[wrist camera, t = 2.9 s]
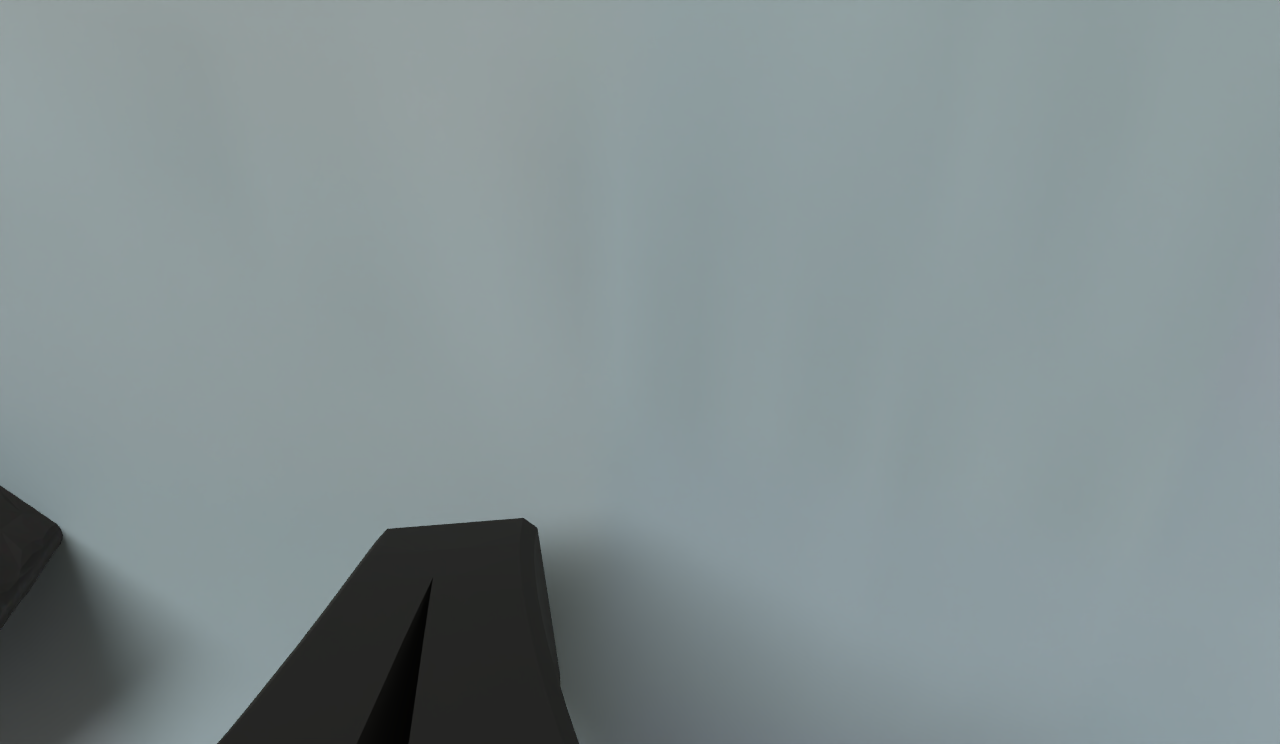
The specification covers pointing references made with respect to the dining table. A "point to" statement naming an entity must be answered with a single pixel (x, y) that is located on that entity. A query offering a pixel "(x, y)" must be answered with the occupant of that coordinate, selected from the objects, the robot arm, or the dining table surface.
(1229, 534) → the dining table surface
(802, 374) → the dining table surface
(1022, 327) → the dining table surface
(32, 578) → the disk drive
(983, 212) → the dining table surface
